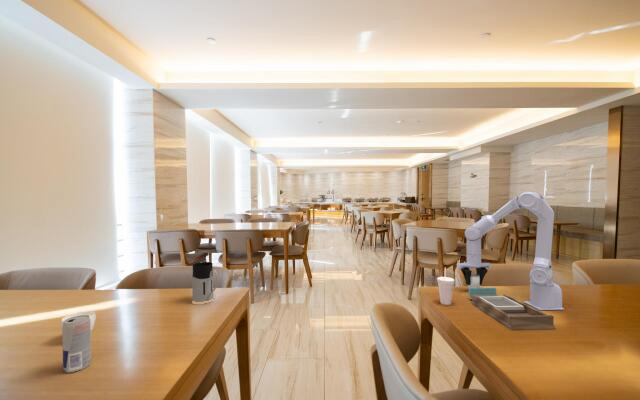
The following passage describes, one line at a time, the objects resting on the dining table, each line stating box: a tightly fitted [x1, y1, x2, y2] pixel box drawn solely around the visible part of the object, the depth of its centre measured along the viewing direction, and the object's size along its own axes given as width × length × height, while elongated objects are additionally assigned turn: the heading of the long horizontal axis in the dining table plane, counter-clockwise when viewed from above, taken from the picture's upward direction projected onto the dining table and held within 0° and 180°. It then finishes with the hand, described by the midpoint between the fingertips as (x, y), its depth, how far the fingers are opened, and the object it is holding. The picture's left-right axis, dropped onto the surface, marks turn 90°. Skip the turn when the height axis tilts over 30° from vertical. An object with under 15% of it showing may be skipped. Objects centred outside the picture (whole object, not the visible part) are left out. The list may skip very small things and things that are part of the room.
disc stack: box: [467, 272, 481, 289], centre depth 127 cm, size 5×5×6 cm
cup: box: [60, 310, 97, 332], centre depth 87 cm, size 8×10×7 cm
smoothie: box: [436, 267, 455, 306], centre depth 113 cm, size 6×6×14 cm
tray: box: [468, 286, 526, 313], centre depth 109 cm, size 17×11×4 cm, turn 2°
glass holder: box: [191, 261, 219, 302], centre depth 115 cm, size 9×14×15 cm, turn 54°
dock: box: [470, 293, 556, 331], centre depth 102 cm, size 22×15×4 cm, turn 2°
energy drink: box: [61, 315, 92, 374], centre depth 72 cm, size 5×5×12 cm
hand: (473, 284), depth 127 cm, fingers closed on disc stack, 5 cm apart
